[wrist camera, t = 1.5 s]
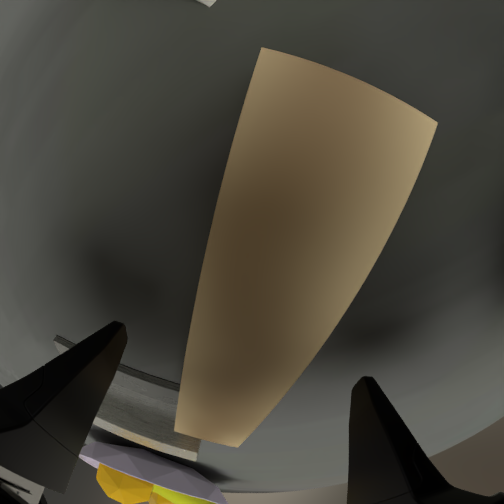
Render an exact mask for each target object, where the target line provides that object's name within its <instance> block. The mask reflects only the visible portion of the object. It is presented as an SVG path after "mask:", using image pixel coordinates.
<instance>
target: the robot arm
mask: <svg viewBox="0 0 504 504" xmlns="http://www.w3.org/2000/svg"><path fill="white" fill-rule="evenodd" d="M126 344H127V332H126V327H125V325H124V324H123V323H121V322H118V321H113V322H111V323H110V324H108V325H106V326H105V327H103V328H102V329H100V330H98V331H97V332H95V333H94V334H92V335H91V336H89V337H87V338H86V339H84V340H83V341H81V342H79V343H78V344H76V345H75V346H73V347H72V348H70V349H68V350H67V351H65V352H64V353H62V354H61V355H59V356H57V357H56V358H54V359H53V360H51V361H50V362H48V363H46V364H45V366H42V367H40V368H39V369H37V370H35V371H34V372H32V373H30V374H29V375H27V376H25V377H23V378H21V379H20V380H18V381H16V382H14V383H12V384H9V385H7V386H5V387H3V388H1V389H0V504H47V502H46V499H45V497H44V495H43V490H44V487H46V488H48V489H51V490H53V491H56V492H59V493H62V494H64V493H65V492H66V489H67V486H68V483H69V480H70V478H71V475H72V472H73V470H74V467H75V464H76V462H77V459H78V457H79V454H80V452H81V449H82V447H83V445H84V442H85V440H86V438H87V435H88V433H89V431H90V428H91V426H92V424H93V421H94V419H95V417H96V415H97V413H98V410H99V408H100V406H101V404H102V402H103V400H104V398H105V395H106V393H107V391H108V389H109V387H110V385H111V383H112V381H113V379H114V377H115V374H116V371H117V369H118V366H119V363H120V360H121V357H122V355H123V352H124V349H125V347H126ZM347 504H504V493H503V492H498V493H496V494H494V495H492V496H490V497H488V496H483V495H479V494H475V493H472V492H468V491H465V490H461V489H459V488H456V487H454V486H452V485H451V484H449V483H448V482H447V481H446V480H445V478H444V477H443V476H442V475H441V474H440V472H439V471H438V470H437V469H436V467H435V466H434V465H433V464H432V462H431V461H430V460H429V458H428V457H427V456H426V454H425V453H424V451H423V450H422V448H421V447H420V445H419V444H418V443H417V441H416V439H415V438H414V436H413V435H412V433H411V432H410V430H409V429H408V427H407V426H406V424H405V423H404V421H403V420H402V418H401V417H400V416H399V414H398V413H397V411H396V410H395V408H394V407H393V405H392V404H391V402H390V401H389V399H388V398H387V397H386V395H385V394H384V392H383V391H382V389H381V388H380V386H379V385H378V384H377V382H376V381H375V379H374V378H373V377H369V376H363V377H362V378H361V379H360V380H359V381H358V382H357V383H356V384H355V386H354V387H353V389H352V393H351V407H350V418H349V472H348V493H347Z"/></svg>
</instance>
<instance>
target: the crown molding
mask: <svg viewBox="0 0 504 504" xmlns="http://www.w3.org/2000/svg"><path fill="white" fill-rule="evenodd" d="M196 1H198V2H200V3H202V4H204V5H206V6H208V7H210V6H211V5H212V4H213V3H214V2H215V1H216V0H196Z"/></svg>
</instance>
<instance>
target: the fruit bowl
mask: <svg viewBox="0 0 504 504" xmlns="http://www.w3.org/2000/svg"><path fill="white" fill-rule="evenodd" d="M79 457H80V458H81V459H82V460H84V461H85V462H87V463H88V464H90V465H92V466H94V467H95V468H97V469H98V472H97V476H96V479H97V481H98V482H99V484H100V485H101V487H102V488H103V490H104V491H105V493H106V494H107V496H108V497H110V498H112V499H114V500H116V501H118V502H120V503H123V504H135V503H140V502H145V501H149V503H150V504H228V503H227V501H226V499H225V498H224V496H223V495H222V493H221V491H220V489H219V488H218V486H216V485H215V484H213V483H212V482H210V481H209V480H208V479H206V478H205V477H203V476H202V475H201V474H199V473H198V472H197V471H195V470H194V469H193V468H190V467H187V466H184V465H182V464H179V463H176V462H173V461H171V460H168V459H166V458H163V457H161V456H158V455H156V454H153V453H151V452H149V451H147V450H144V449H139V448H132V447H125V446H119V445H113V444H107V443H102V442H98V441H95V442H93V443H91V444H89V445H86V446H84V447H82V449H81V452H80V454H79Z"/></svg>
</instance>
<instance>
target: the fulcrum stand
mask: <svg viewBox="0 0 504 504" xmlns="http://www.w3.org/2000/svg"><path fill="white" fill-rule="evenodd" d="M53 341H54V343H55V345H56V347H57V349H58V351H59V353H60V355H61V354H62V353H64V352H65V351H67V350H68V349H70V348H72V347H73V346H75V344H73V343H71V342H69V341H67V340H65V339H63V338H61V337H59V336H56V337H55V339H54V340H53ZM179 391H180V385H179V384H176V383H172V382H169V381H166V380H163V379H160V378H157V377H154V376H151V375H148V374H145V373H142V372H139V371H137V370H134V369H131V368H129V367H126V366H123V365H121V364H119V366H118V369H117V371H116V374H115V377H114V379H113V381H112V383H111V385H110V387H109V389H108V391H107V393H106V395H105V398H104V400H103V402H102V404H101V406H100V408H99V410H98V413H97V415H96V417H95V419H94V421H93V424H94V425H96V426H99V427H101V428H103V429H105V430H107V431H109V432H112V433H114V434H116V435H118V436H121V437H123V438H126V439H128V440H131V441H133V442H136V443H138V444H141V445H144V446H147V447H149V448H152V449H155V450H158V451H161V452H164V453H168V454H171V455H174V456H178V457H181V458H185V459H189V460H192V461H196V460H197V456H198V452H199V448H200V444H201V440H202V439H199V438H196V437H192V436H189V435H185V434H182V433H179V432H175V431H174V427H175V419H176V412H177V405H178V398H179Z"/></svg>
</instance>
